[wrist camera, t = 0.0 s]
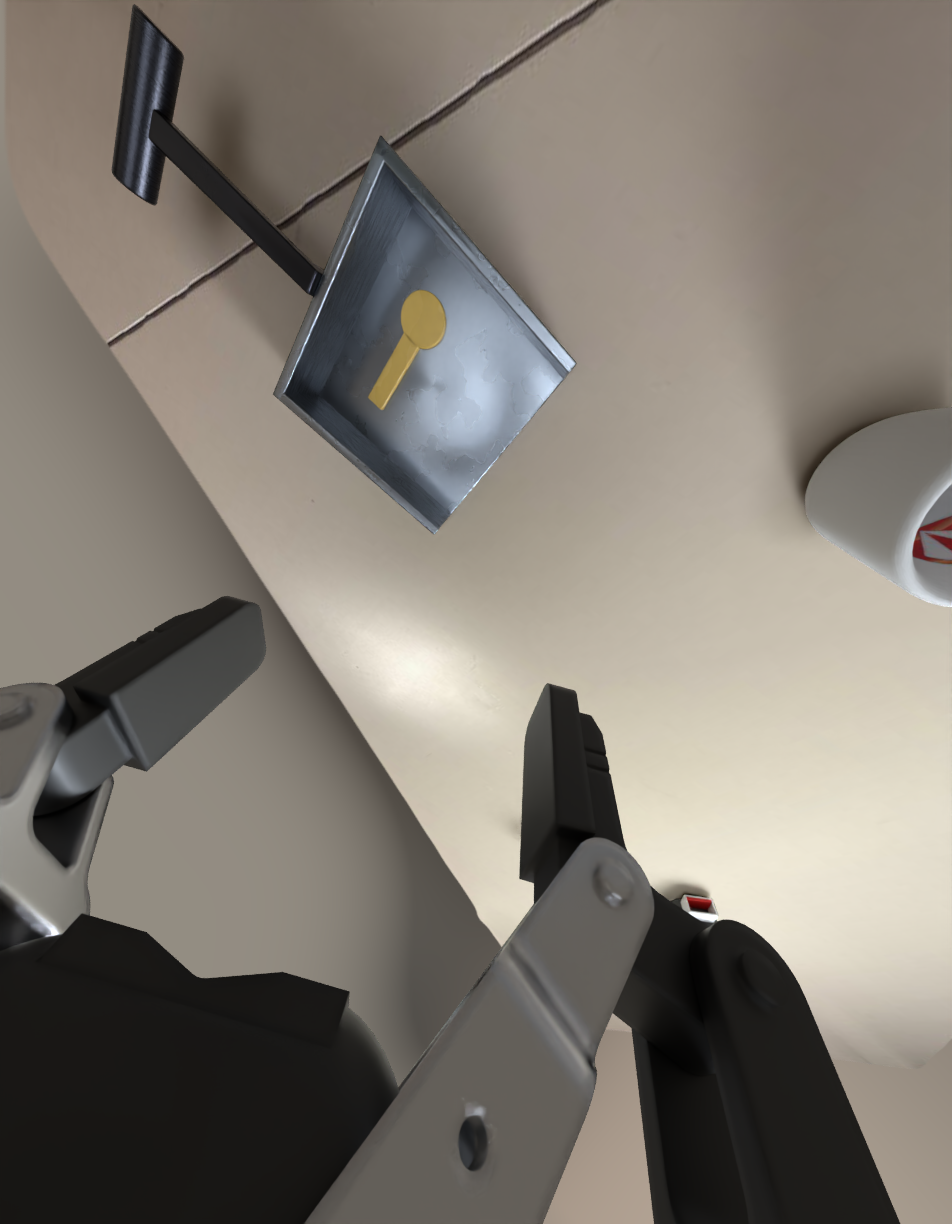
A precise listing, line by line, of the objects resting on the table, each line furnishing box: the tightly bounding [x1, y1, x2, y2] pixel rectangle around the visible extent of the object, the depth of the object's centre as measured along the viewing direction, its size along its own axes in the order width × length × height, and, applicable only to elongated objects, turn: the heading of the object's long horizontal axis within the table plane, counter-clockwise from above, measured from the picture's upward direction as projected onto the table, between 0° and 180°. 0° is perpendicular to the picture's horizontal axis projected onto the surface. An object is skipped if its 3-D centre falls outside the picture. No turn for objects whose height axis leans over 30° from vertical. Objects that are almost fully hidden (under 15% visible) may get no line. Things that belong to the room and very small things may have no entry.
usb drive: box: [672, 895, 718, 927], centre depth 45 cm, size 5×12×3 cm, turn 4°
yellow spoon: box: [368, 290, 446, 410], centre depth 19 cm, size 6×2×1 cm, turn 139°
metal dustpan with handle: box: [112, 4, 576, 534], centre depth 17 cm, size 11×20×5 cm, turn 49°
